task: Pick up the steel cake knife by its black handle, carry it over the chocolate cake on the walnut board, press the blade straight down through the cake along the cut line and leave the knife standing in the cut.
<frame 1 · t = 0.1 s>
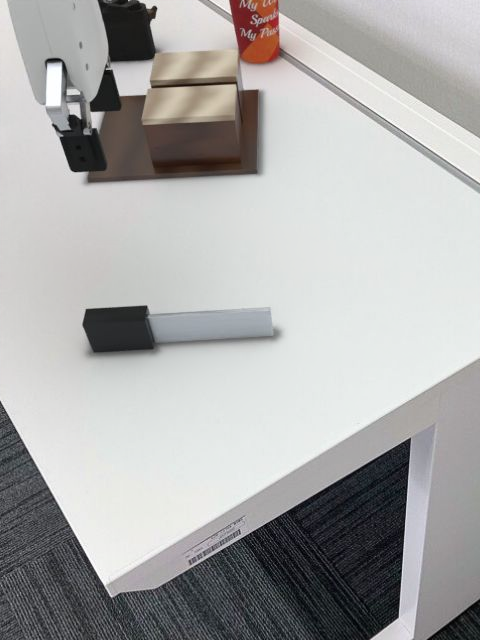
hand: (98, 138, 71), 18 cm above the table, tool pointing down, fingers open, 9 cm apart
knife: (125, 345, 77), on the table
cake: (202, 136, 102), on the table
coffee cup: (260, 56, 116), on the table
film camera: (105, 51, 118), on the table
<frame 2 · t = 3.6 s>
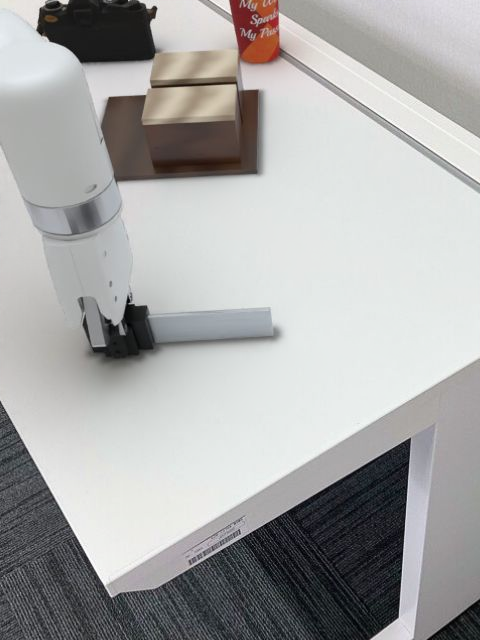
hand: (125, 343, 77), 0 cm above the table, tool pointing down, fingers closed on knife, 2 cm apart
knife: (125, 345, 77), on the table, touching gripper
everything else where it was.
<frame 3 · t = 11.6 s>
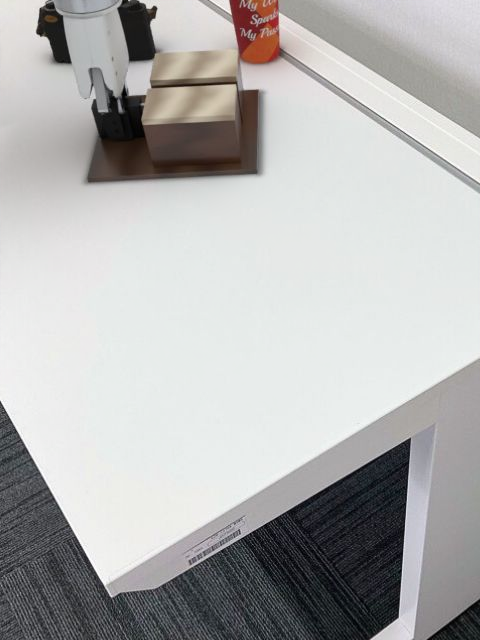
hand: (122, 131, 101), 1 cm above the table, tool pointing down, fingers closed on knife, 2 cm apart
knife: (123, 132, 101), point 1 cm above the table, touching gripper
everything else where it was.
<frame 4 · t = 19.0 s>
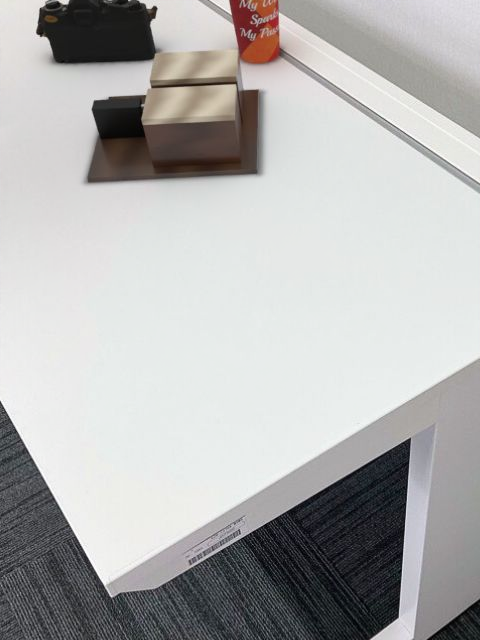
knife: (124, 133, 101), point 1 cm above the table, touching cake
everything else where it was.
at the end: knife 0.1 cm from the target spot on the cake, point 1.0 cm above the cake's base; the gripper is holding nothing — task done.
